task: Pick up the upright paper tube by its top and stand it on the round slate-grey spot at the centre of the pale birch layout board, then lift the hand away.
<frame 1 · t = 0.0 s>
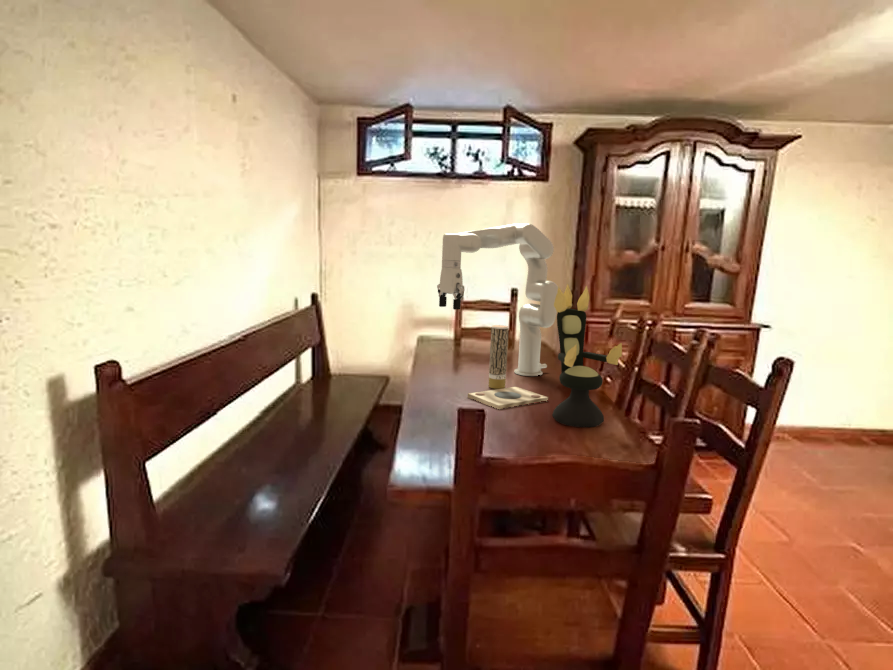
hand: (449, 307, 236), 31 cm above the table, tool pointing down, fingers open, 9 cm apart
paper tube: (496, 388, 238), on the table
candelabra: (572, 420, 198), on the table
layout board: (507, 399, 220), on the table
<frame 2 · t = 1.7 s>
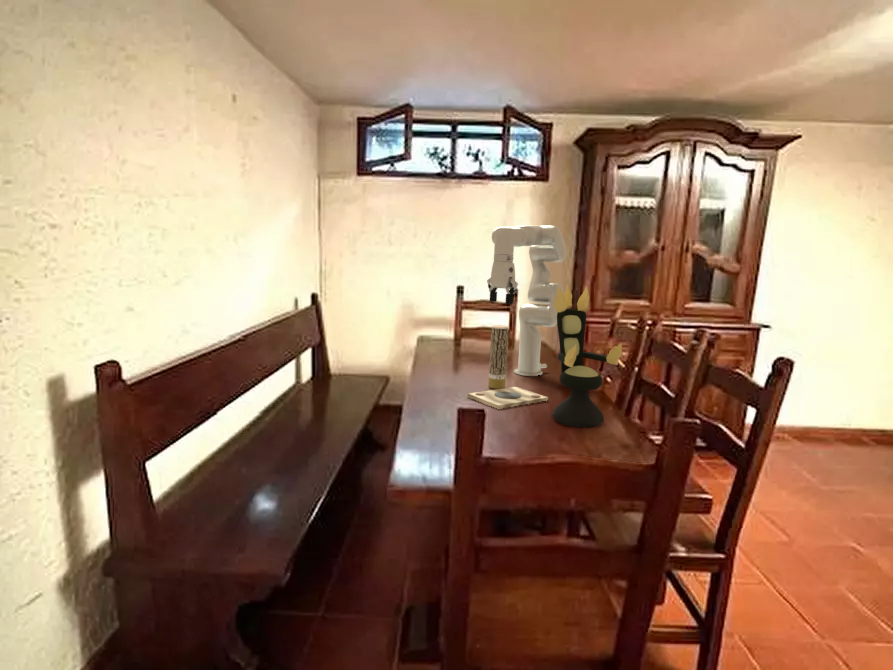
hand: (500, 302, 232), 34 cm above the table, tool pointing down, fingers open, 9 cm apart
nothing on the table moved.
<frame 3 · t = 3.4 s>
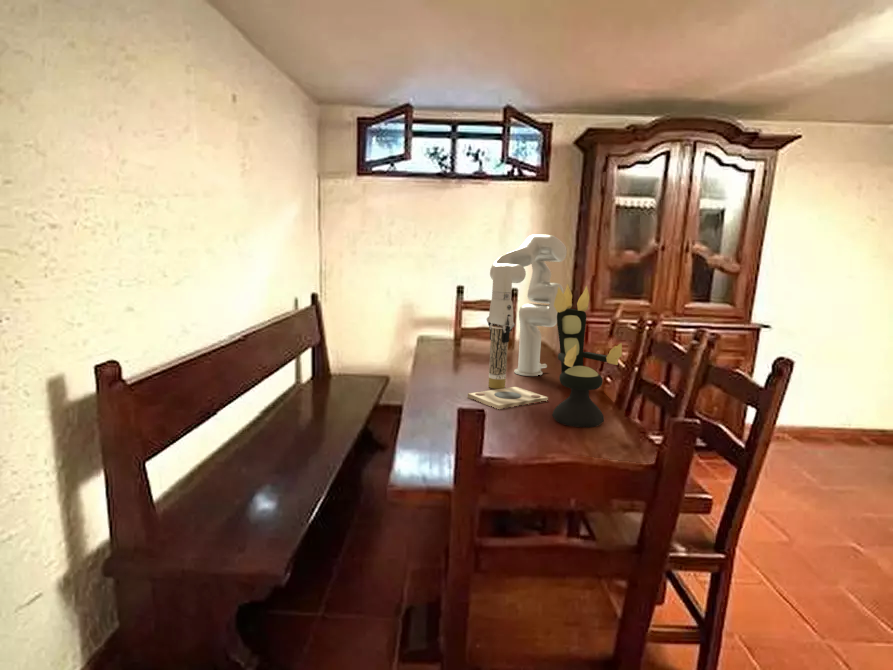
hand: (499, 340, 235), 19 cm above the table, tool pointing down, fingers closed on paper tube, 6 cm apart
paper tube: (496, 388, 238), on the table, touching gripper
everything else where it was.
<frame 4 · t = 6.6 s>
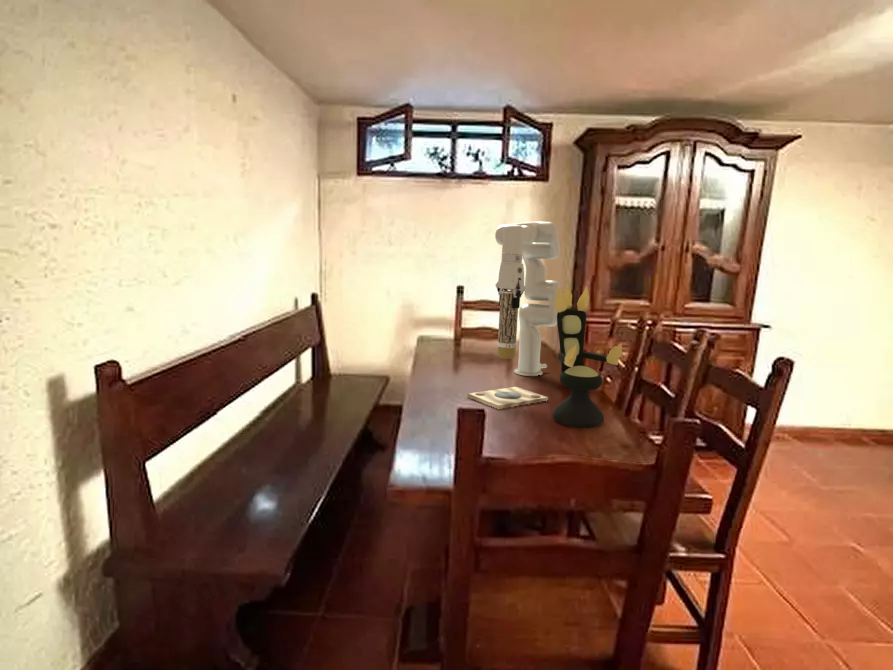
hand: (509, 306, 220), 34 cm above the table, tool pointing down, fingers closed on paper tube, 6 cm apart
paper tube: (506, 357, 223), point 15 cm above the table, touching gripper
everything else where it was.
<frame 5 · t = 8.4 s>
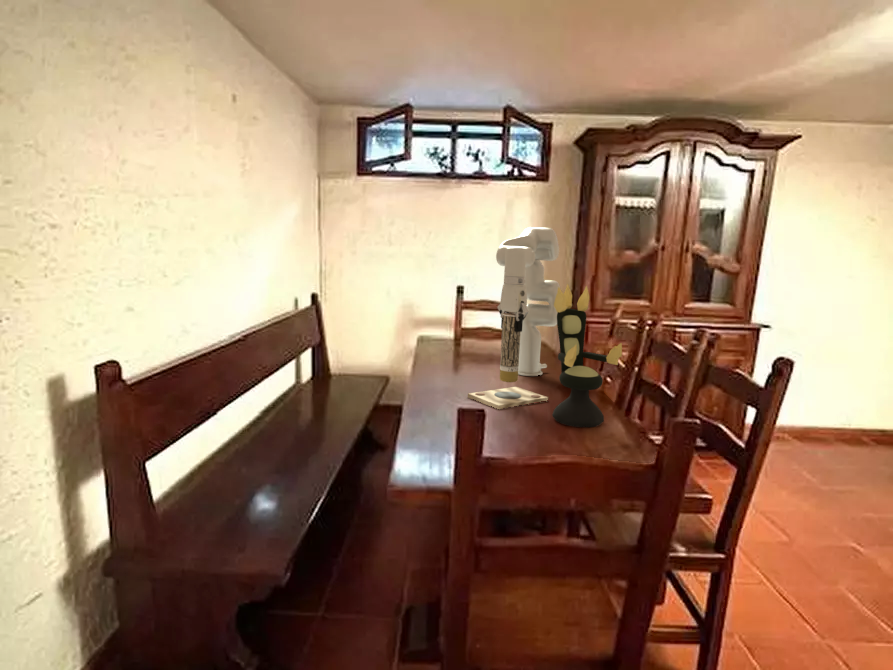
hand: (511, 329, 216), 26 cm above the table, tool pointing down, fingers closed on paper tube, 6 cm apart
paper tube: (508, 381, 219), point 7 cm above the table, touching gripper
everything else where it was.
when the fingers open (21 cm above the table, at t = 10.0 s): paper tube stays where it is, resting on layout board.
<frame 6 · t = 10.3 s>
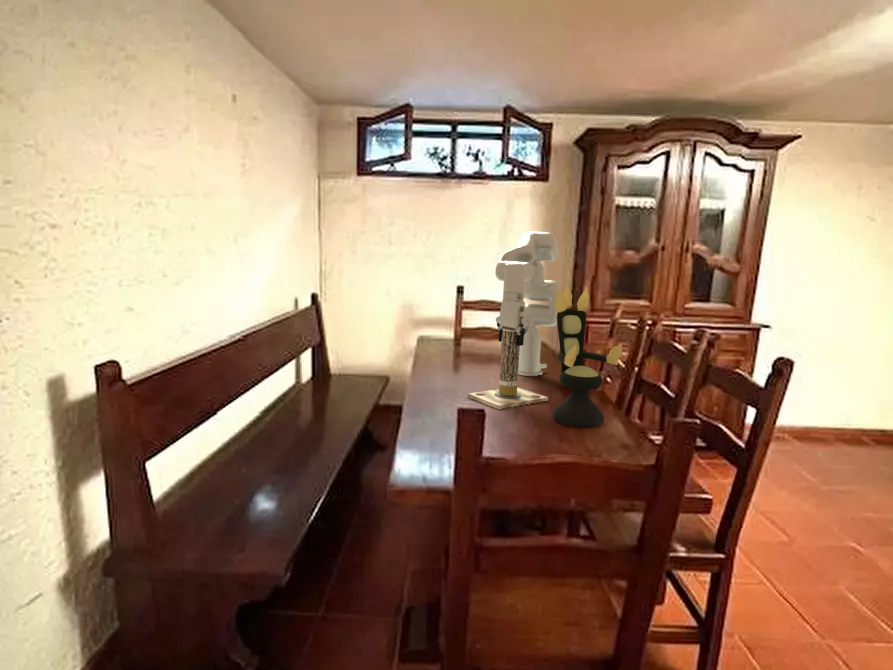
hand: (510, 343, 217), 21 cm above the table, tool pointing down, fingers open, 9 cm apart
paper tube: (507, 395, 220), point 2 cm above the table, touching layout board
everything else where it was.
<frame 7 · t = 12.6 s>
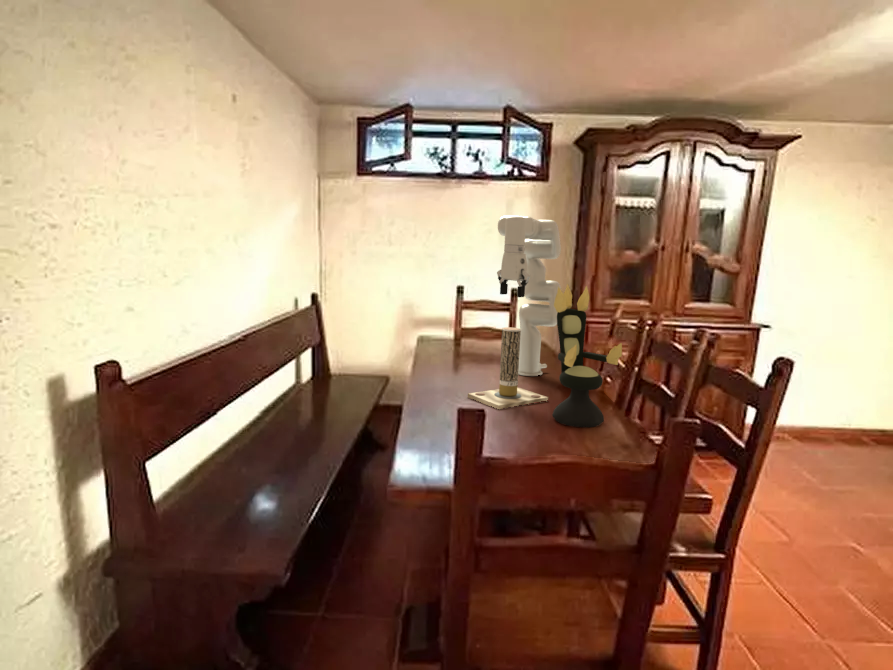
hand: (512, 295, 223), 38 cm above the table, tool pointing down, fingers open, 9 cm apart
nothing on the table moved.
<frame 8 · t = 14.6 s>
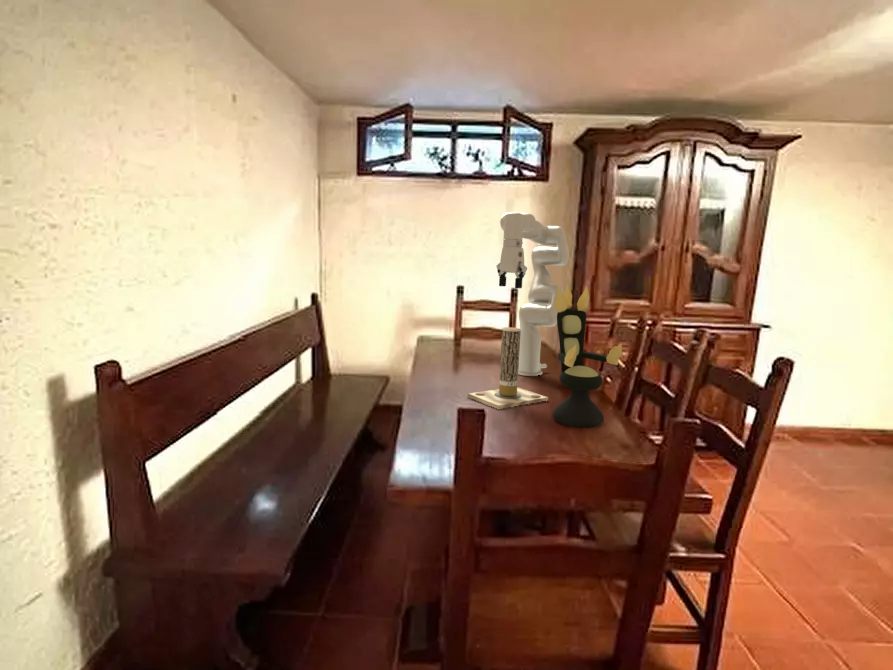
hand: (510, 287, 237), 40 cm above the table, tool pointing down, fingers open, 9 cm apart
nothing on the table moved.
at the end: paper tube 0.1 cm off-centre on the layout board, point 1.5 cm above the layout board's base; paper tube tilted 0°; the gripper is holding nothing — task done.
